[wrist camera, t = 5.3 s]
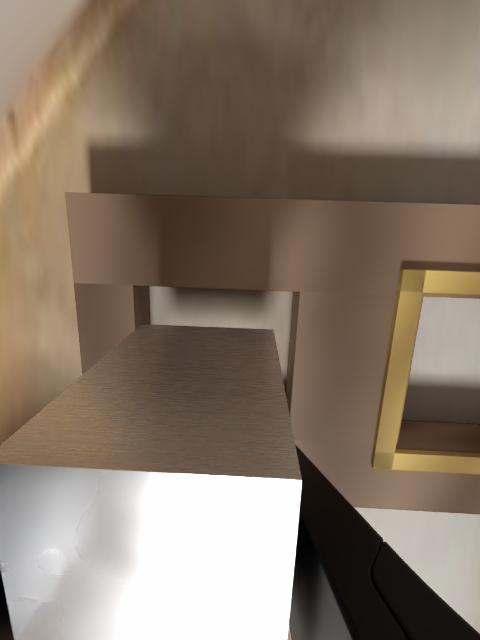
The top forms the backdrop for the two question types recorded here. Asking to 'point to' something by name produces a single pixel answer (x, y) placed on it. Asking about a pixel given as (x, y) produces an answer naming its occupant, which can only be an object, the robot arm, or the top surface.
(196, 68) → the top surface
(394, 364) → the rail plate
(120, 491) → the white rectangular block
